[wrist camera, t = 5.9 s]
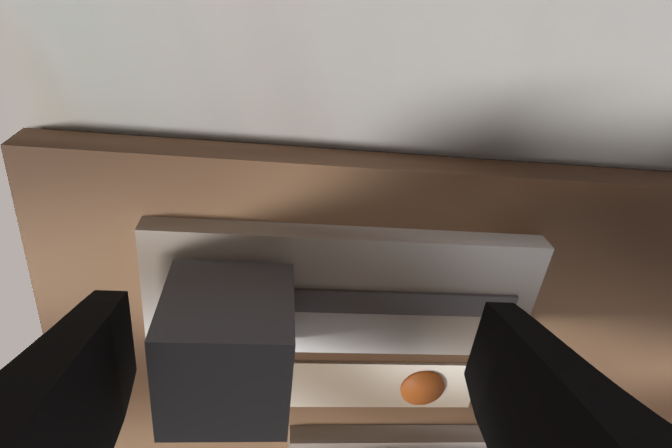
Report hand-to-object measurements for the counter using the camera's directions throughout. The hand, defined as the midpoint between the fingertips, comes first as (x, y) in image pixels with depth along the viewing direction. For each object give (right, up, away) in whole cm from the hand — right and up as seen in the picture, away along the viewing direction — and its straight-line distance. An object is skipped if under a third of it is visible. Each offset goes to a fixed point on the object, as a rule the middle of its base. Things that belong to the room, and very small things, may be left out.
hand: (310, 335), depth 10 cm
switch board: (+2, -2, +4) cm, 5 cm away
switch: (-2, 0, 0) cm, 2 cm away
